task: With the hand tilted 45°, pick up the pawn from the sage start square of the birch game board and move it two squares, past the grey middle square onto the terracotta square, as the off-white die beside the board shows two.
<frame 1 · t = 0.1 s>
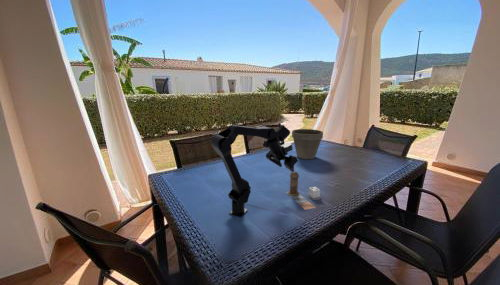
hand: (287, 168, 118), 15 cm above the table, tool tilted 35°, fingers open, 9 cm apart
pawn: (293, 193, 120), point 1 cm above the table, touching board
plant pot: (305, 156, 185), on the table
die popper: (313, 197, 117), on the table
board: (299, 200, 114), on the table
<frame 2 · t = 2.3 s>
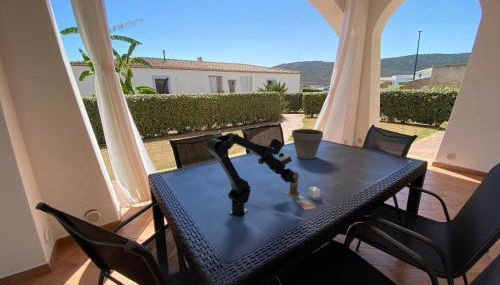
hand: (290, 179, 117), 10 cm above the table, tool tilted 45°, fingers open, 9 cm apart
nothing on the table moved.
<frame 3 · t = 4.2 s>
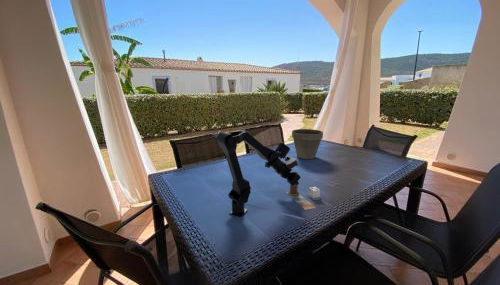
hand: (296, 182, 119), 7 cm above the table, tool tilted 45°, fingers closed on pawn, 4 cm apart
pawn: (293, 193, 120), point 1 cm above the table, touching board, gripper
everything else where it was.
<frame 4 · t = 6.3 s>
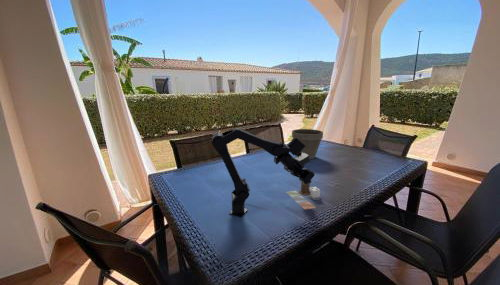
hand: (308, 180, 108), 13 cm above the table, tool tilted 45°, fingers closed on pawn, 4 cm apart
pawn: (304, 193, 109), point 6 cm above the table, touching gripper
everything else where it was.
when the fingers open (8 cm above the table, at t = 8.2 s): pawn drops 1 cm, resting on board.
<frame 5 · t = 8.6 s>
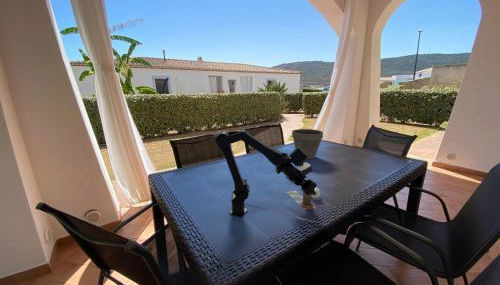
hand: (310, 190, 107), 9 cm above the table, tool tilted 45°, fingers open, 8 cm apart
pawn: (306, 205, 108), point 1 cm above the table, touching board
everything else where it was.
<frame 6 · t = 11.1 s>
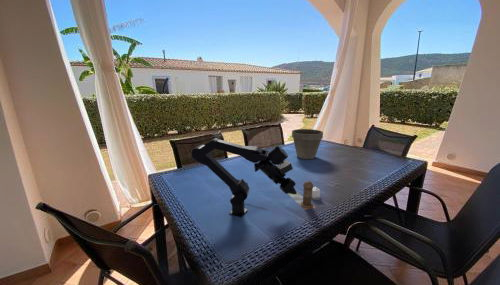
hand: (291, 189, 104), 11 cm above the table, tool tilted 45°, fingers open, 9 cm apart
nothing on the table moved.
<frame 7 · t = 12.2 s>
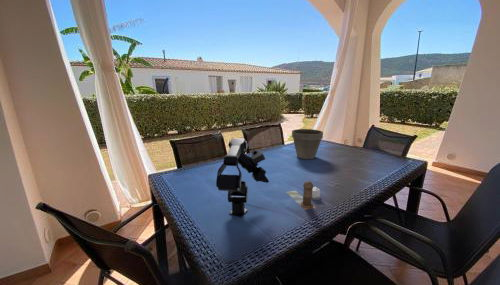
hand: (264, 178, 111), 13 cm above the table, tool tilted 45°, fingers open, 9 cm apart
nothing on the table moved.
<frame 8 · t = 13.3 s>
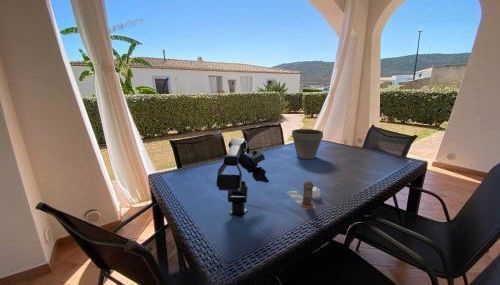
hand: (264, 178, 111), 13 cm above the table, tool tilted 45°, fingers open, 9 cm apart
nothing on the table moved.
at the end: pawn 0.0 cm from the target spot on the board, point 0.7 cm above the board's base; pawn tilted 1°; the gripper is holding nothing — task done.
